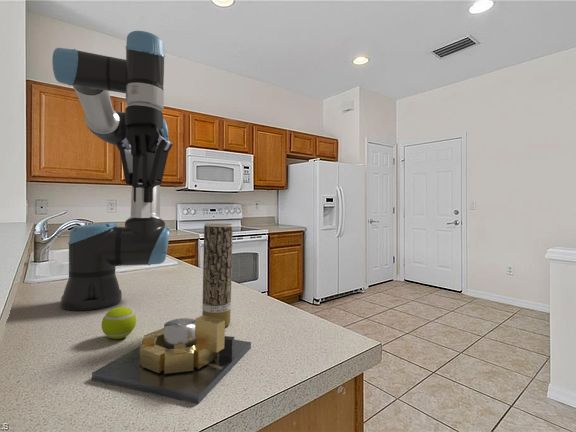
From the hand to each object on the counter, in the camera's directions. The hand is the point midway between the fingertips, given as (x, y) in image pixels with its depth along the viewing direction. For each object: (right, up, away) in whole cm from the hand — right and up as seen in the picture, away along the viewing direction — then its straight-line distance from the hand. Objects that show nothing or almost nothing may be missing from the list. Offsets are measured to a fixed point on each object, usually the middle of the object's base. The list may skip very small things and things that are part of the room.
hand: (142, 217), depth 70 cm
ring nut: (+13, -25, -11) cm, 31 cm away
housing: (+12, -27, -10) cm, 31 cm away
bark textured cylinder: (+14, -27, +9) cm, 31 cm away
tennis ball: (-5, -26, 0) cm, 27 cm away
